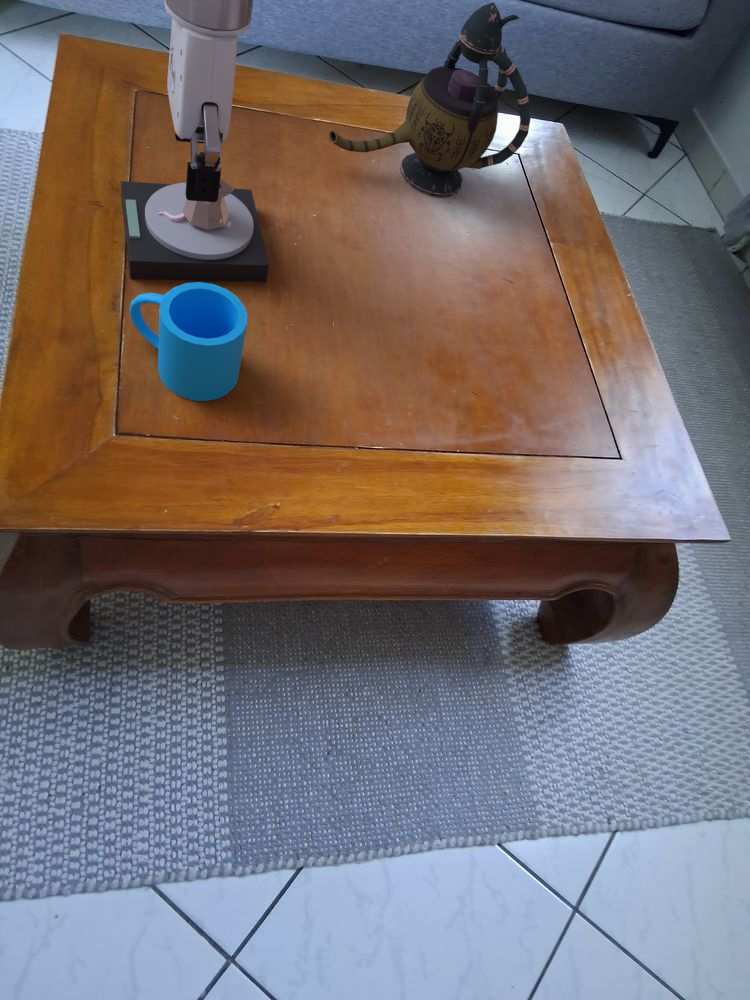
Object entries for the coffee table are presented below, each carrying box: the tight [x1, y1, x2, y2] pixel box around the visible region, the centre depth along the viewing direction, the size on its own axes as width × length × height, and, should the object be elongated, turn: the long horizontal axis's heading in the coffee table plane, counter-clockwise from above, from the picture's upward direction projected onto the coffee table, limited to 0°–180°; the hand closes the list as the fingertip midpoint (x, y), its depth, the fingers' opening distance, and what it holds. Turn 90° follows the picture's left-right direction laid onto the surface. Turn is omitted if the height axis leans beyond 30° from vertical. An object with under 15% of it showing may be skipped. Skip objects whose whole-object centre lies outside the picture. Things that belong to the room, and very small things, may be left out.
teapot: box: [328, 1, 531, 199], centre depth 96 cm, size 12×25×23 cm, turn 107°
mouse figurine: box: [158, 178, 235, 230], centre depth 83 cm, size 5×8×7 cm, turn 102°
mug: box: [128, 281, 248, 402], centre depth 75 cm, size 12×8×8 cm
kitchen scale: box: [120, 180, 270, 283], centre depth 87 cm, size 15×13×3 cm
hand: (195, 169), depth 80 cm, fingers open, 9 cm apart
